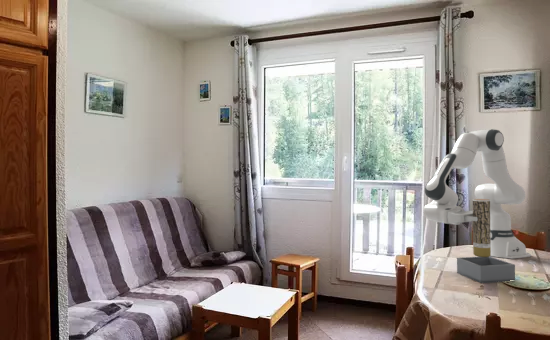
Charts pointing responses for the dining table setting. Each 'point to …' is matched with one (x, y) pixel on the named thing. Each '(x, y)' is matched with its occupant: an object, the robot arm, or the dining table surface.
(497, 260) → the box
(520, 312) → the dining table surface
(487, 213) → the wooden log
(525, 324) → the dining table surface
